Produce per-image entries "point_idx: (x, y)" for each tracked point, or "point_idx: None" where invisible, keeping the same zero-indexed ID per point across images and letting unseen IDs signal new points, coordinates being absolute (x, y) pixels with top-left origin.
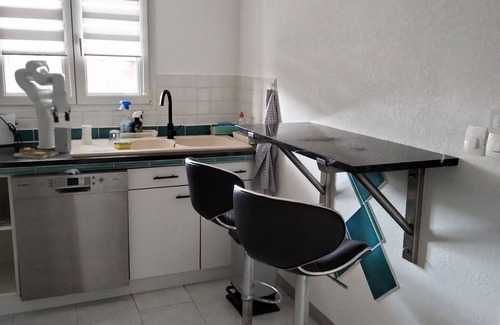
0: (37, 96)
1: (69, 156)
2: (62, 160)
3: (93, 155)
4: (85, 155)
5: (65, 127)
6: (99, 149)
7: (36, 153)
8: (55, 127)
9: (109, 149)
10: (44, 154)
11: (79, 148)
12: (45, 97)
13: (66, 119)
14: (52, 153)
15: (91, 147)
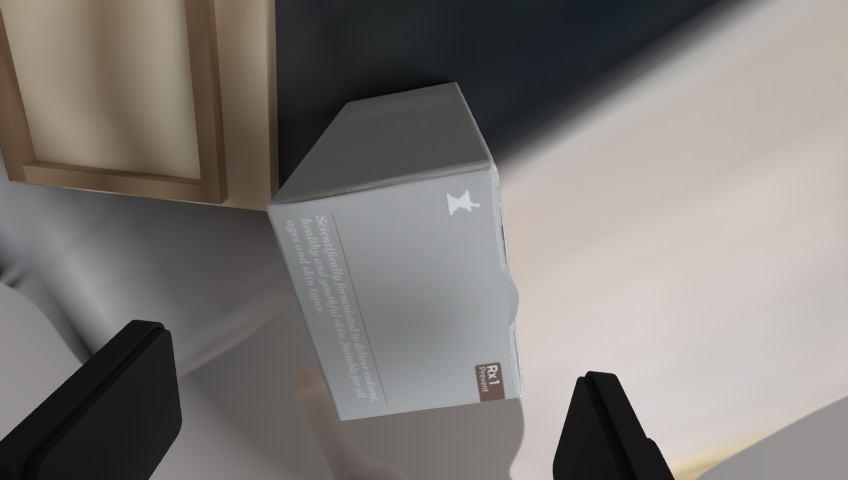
0: None
1: (241, 333)
2: None
3: (345, 461)
4: (324, 417)
5: (367, 387)
6: None
7: (95, 30)
8: (273, 229)
9: None
10: (70, 184)
11: (630, 215)
12: None
13: (576, 445)
14: (180, 200)
15: (700, 297)
